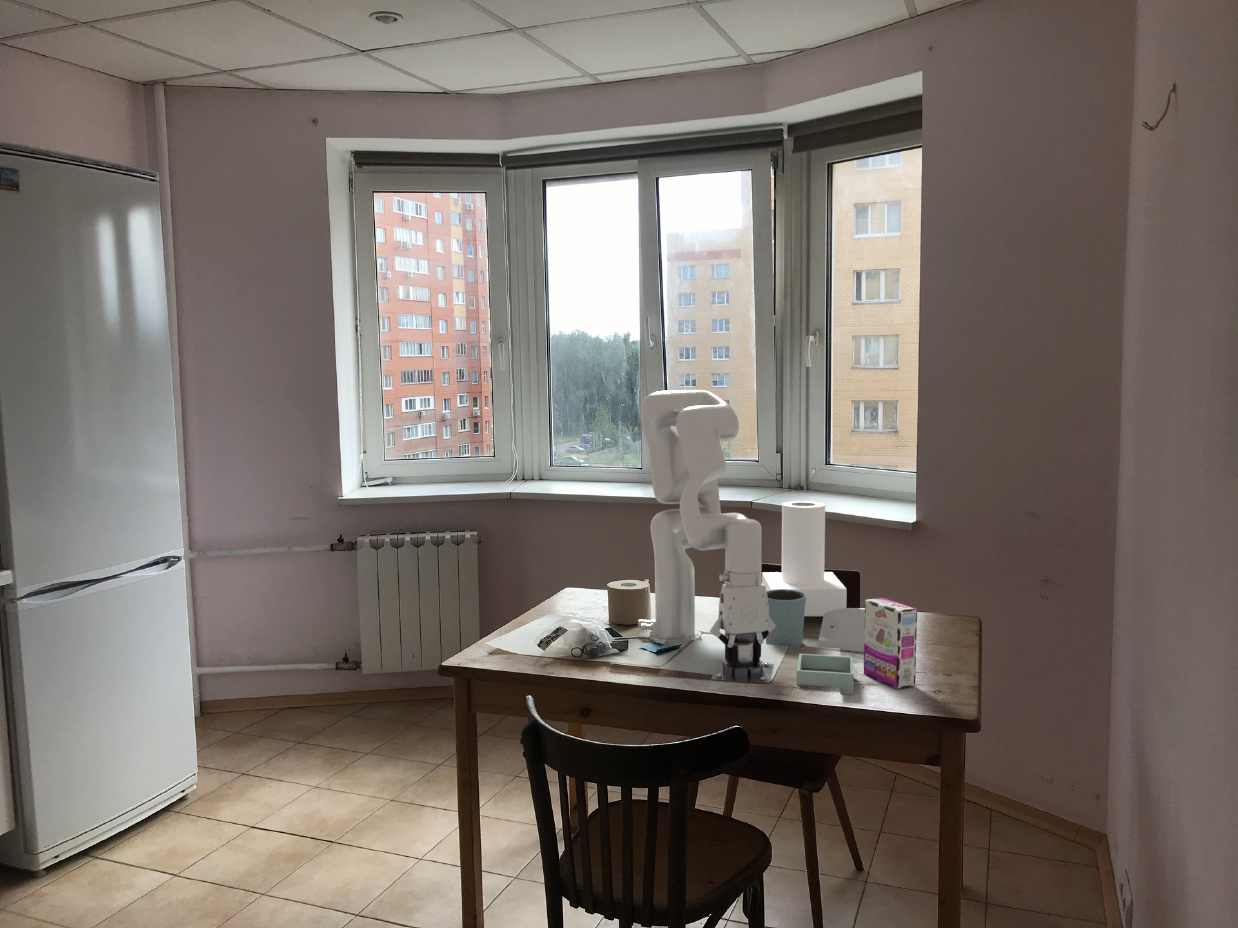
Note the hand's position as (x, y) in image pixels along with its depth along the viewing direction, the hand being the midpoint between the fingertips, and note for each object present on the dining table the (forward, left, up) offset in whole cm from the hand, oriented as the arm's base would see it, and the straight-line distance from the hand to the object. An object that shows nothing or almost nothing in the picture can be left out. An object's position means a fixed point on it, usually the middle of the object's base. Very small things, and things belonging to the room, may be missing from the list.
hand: (743, 661), depth 195 cm
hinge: (+24, +27, -4) cm, 36 cm away
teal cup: (+7, +26, -4) cm, 27 cm away
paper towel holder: (+10, +49, -4) cm, 50 cm away
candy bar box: (+30, +5, -4) cm, 31 cm away
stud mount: (0, 0, -4) cm, 4 cm away
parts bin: (+17, 0, -4) cm, 17 cm away
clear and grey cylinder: (0, 0, -2) cm, 2 cm away
